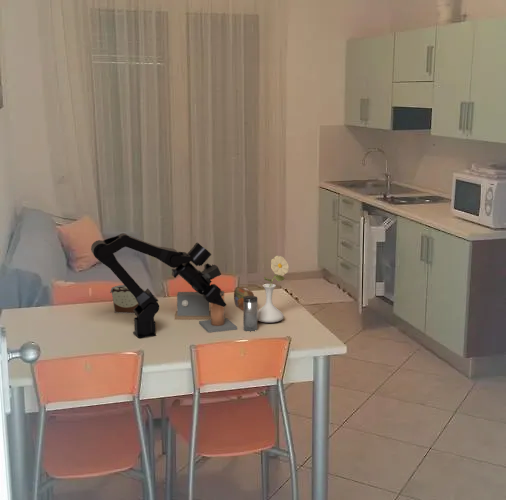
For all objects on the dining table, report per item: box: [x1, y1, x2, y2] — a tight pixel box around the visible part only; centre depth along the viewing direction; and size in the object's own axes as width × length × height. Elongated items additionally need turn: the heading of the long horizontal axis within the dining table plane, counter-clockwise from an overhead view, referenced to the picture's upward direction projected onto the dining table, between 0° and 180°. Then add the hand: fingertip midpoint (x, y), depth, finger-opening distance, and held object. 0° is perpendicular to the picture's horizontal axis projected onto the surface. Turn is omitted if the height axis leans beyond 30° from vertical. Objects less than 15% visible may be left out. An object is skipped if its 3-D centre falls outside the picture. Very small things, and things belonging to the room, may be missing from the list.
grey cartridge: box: [242, 295, 258, 333], centre depth 250 cm, size 5×5×12 cm
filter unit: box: [174, 291, 211, 321], centre depth 265 cm, size 14×8×9 cm, turn 92°
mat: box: [198, 317, 238, 334], centre depth 254 cm, size 11×11×1 cm
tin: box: [233, 286, 255, 312], centre depth 275 cm, size 15×3×8 cm, turn 25°
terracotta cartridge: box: [210, 290, 225, 326], centre depth 253 cm, size 5×5×12 cm
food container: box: [109, 284, 138, 315], centre depth 271 cm, size 12×6×10 cm, turn 84°
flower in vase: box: [257, 255, 290, 323], centre depth 259 cm, size 13×11×25 cm
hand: (221, 302), depth 253 cm, fingers open, 9 cm apart
